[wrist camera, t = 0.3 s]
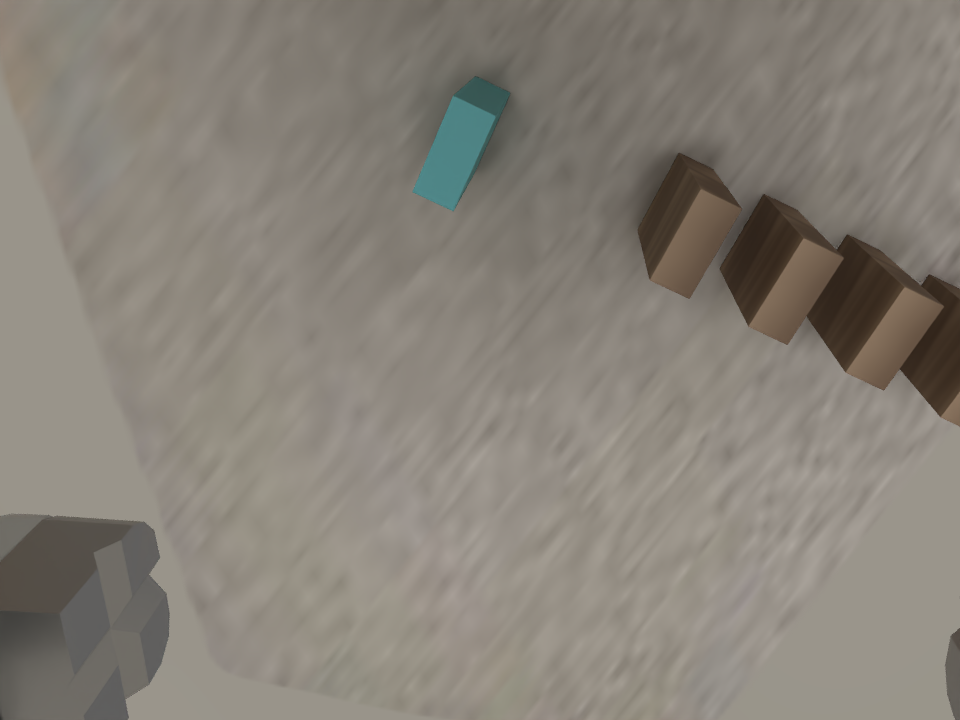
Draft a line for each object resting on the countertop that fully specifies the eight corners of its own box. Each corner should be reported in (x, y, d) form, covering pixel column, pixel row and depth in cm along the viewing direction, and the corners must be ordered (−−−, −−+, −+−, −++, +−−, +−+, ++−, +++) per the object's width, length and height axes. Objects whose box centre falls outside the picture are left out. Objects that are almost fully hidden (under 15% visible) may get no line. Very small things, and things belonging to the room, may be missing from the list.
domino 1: (440, 156, 53) (412, 192, 44) (475, 76, 51) (453, 95, 42) (474, 172, 53) (453, 211, 44) (510, 93, 51) (495, 116, 42)
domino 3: (719, 268, 54) (748, 326, 45) (763, 193, 52) (803, 238, 43) (751, 284, 54) (787, 344, 45) (797, 210, 52) (844, 257, 43)
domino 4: (800, 307, 54) (845, 372, 45) (847, 234, 52) (904, 287, 43) (832, 322, 55) (883, 390, 45) (880, 250, 53) (944, 306, 43)
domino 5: (879, 345, 55) (940, 417, 46) (929, 274, 53) (1003, 334, 44) (911, 360, 55) (978, 435, 46) (961, 290, 53) (1042, 353, 44)
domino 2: (637, 229, 54) (649, 280, 44) (678, 152, 52) (700, 188, 43) (670, 245, 54) (689, 298, 45) (713, 169, 52) (742, 208, 43)
